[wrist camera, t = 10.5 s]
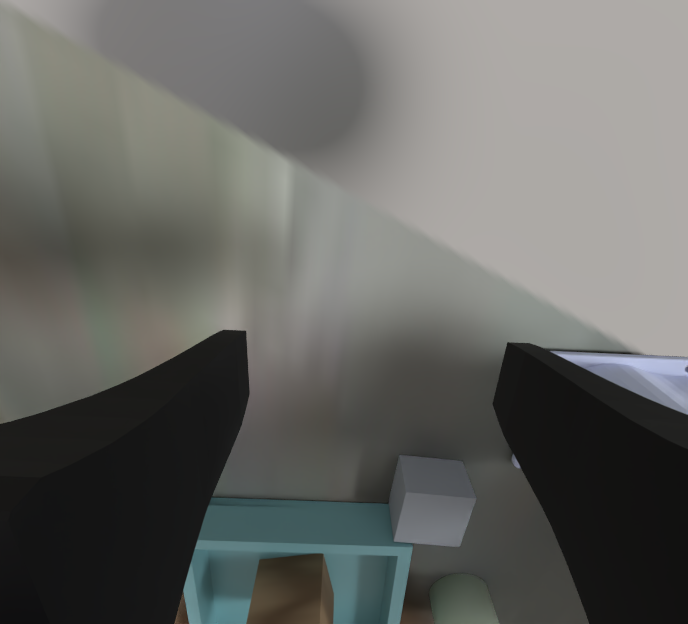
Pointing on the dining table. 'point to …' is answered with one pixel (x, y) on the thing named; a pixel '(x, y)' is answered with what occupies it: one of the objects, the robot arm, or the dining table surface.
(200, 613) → the tray
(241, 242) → the dining table surface
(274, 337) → the dining table surface
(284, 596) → the walnut block
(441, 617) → the sage cylinder
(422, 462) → the slate block
